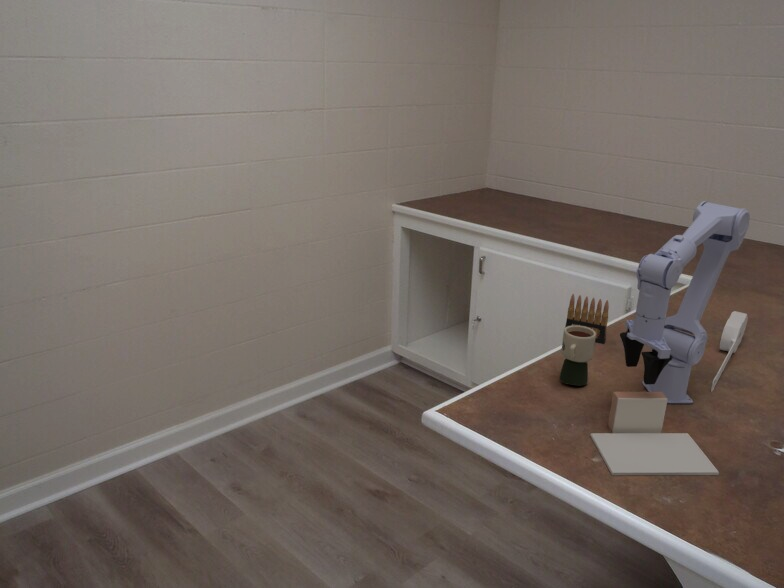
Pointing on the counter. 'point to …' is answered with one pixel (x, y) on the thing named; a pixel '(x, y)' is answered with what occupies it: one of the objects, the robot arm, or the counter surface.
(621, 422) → the tile
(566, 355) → the character mug
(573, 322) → the ammunition clip
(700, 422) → the counter surface
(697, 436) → the counter surface
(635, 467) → the board
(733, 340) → the white long handled piece
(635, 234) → the counter surface
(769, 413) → the counter surface
